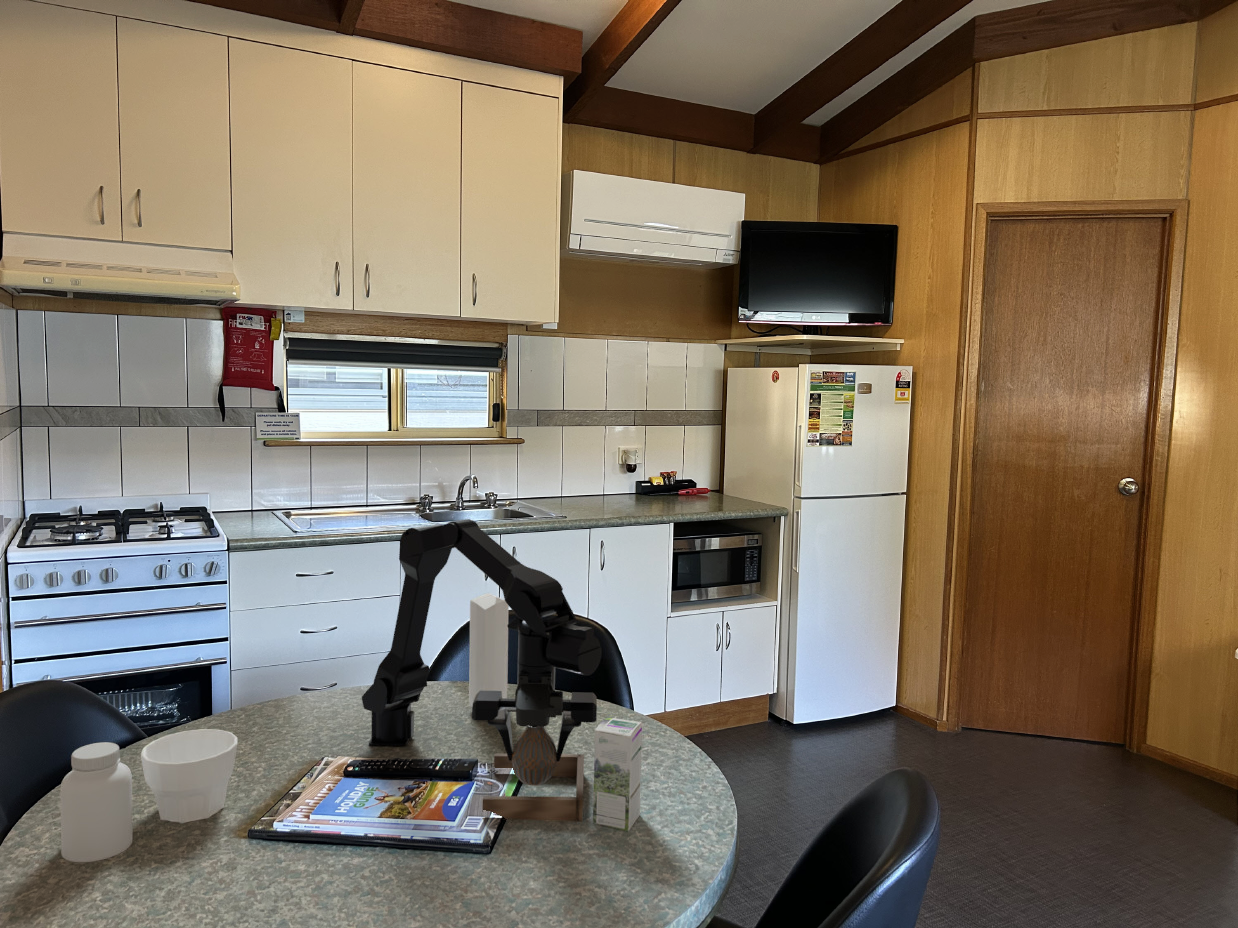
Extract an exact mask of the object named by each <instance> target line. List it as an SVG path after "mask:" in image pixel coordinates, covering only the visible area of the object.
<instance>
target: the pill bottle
mask: <svg viewBox="0 0 1238 928" xmlns="http://www.w3.org/2000/svg"><path fill="white" fill-rule="evenodd" d="M70 758H71V761H70V762H71V768H72V769H71V771H70V772H68V773H67V774H66V775H65V776H64V778H63V779H62V781H61V784H60V790H59V791H60V794H59V795H60V798H59V799H60V843H61V844H60V846H61V848H60V849H61V850H60V851H61V853H60V854H61V857H62V858H63V859H65V860H66V861H69V862H73V863H91V862H96V861H97V862H98V861H101V860H105V859H109V858H111V857H112V858H113V857H114V856H117V855H119V854H122V852H124V851H126V850H127V849H128V848H129V847H131V845H132V843H133V775H132V772H131V769H130V768H129V766H128V765H126V764H125V763H122V762H121V758H120V746H119V745H118V744H116V743H115V742H106V741H105V742H96V743H90V744H86V745H84V746H80V747H79V748H76V749H75V750H74V751H73V752H72V754H71V756H70Z"/></svg>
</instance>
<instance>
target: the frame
mask: <svg viewBox="0 0 1238 928" xmlns="http://www.w3.org/2000/svg"><path fill="white" fill-rule="evenodd" d="M584 760H585V754H581V753H580V754H578V753H577V754H573V753H571V754H569V753H568V754H567V753H564V754H563V753H562V755H561V758H560V761H559V762H557V763H556V767H555V770H554V772H553V775H552V776H551V778H552V777H555V778H557V777H559V778H576V793H575V794H576V796H525V795H524V796H521V795H520V796H519V795H518V796H517V795H515V796H514V795H512V796H511V795H508V796H507V795H506V796H502V795H498V796H497V795H492V796H491V795H483V796H482V811H483V810H486V811H491V812H493V813H496V814H497V815H500V816H503V817H504V818H505V819H504V820H519V821H520V820H525V821H526V820H527V821H528V820H529V821H551V822H552V821H554V822H555V821H556V822H583V821H584V819H583V816H584V815H583V811H584V809H583V808H584V773H585V771H584V770H585V769H584V768H585V767H584V766H585V763H584V762H585V761H584ZM494 767H495V768H513V766H512V761H509V759H508V756H507V753H494V756H493V768H494Z"/></svg>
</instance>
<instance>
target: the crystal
mask: <svg viewBox="0 0 1238 928" xmlns="http://www.w3.org/2000/svg"><path fill="white" fill-rule="evenodd" d="M509 608H510V607H509V605H508V604H507V603H506V602H505V599H503V598H501V597H499V596H497V595H494V594H493V593H490V592H487V593H484V594H482V595H478V596H476V597H475V598H472V599H470V601H469V661H468V663H469V665H468V667H469V673H468V674H469V676H468V680H469V682H468V683H469V685H468V692H469V693H468V704H469V707H471V708H472V706H473V702H474V699H475V696H476V694H477V693H478V692H479V691H502V698H507V699H508V667H509V664H508V663H509V662H508V661H509V653H508V652H509V628H508V627H507V625H508V624H509Z"/></svg>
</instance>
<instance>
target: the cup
mask: <svg viewBox="0 0 1238 928" xmlns="http://www.w3.org/2000/svg"><path fill="white" fill-rule="evenodd" d="M238 740H239V738H238V737H237V736H236V735H235V734H233V732H231V731H227V730H222V729H211V728H209V729H208V728H201V729H192V730H191V729H190V730H184V731H179V732H176V733H171V734H166V735H164V736H162V737H160V738H158V739H157V738H156V739H154V740H152V741H151V742H150V743H148V744H147V745H145V746H144V747H143V748H142V750H141V753H140V759H141V766H142V770H143V775H144V781H145V783H146V785H147V786H148V787H149V788H150V789H151V792H153V794H154V798H155V802H156V807H157V811H158V815H159V819H160V821H168V822H172V823H173V822H174V823H179V824H185V823H188V822H194V821H199V820H204V819H209V818H210V817H211V816H213V815H215V814H216V813H218V812H219V811H220V810H222V809H224V807H225V802H226V799H227V798H226V795H227V791H228V786H229V780H230V778H231V777H232V774H233V772H234V770H235V769H234V768H235V762H236V761H235V760H236V756H237V749H238Z"/></svg>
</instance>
